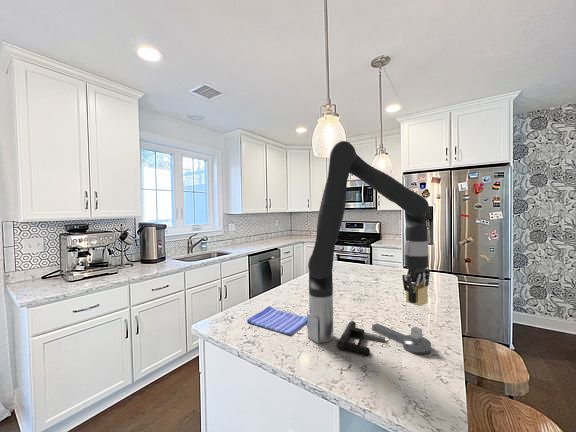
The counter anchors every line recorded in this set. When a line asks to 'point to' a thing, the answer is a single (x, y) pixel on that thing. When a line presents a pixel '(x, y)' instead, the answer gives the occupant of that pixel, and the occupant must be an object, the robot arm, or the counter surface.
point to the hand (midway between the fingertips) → (416, 300)
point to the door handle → (357, 333)
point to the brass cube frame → (419, 295)
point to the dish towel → (278, 321)
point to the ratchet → (407, 339)
